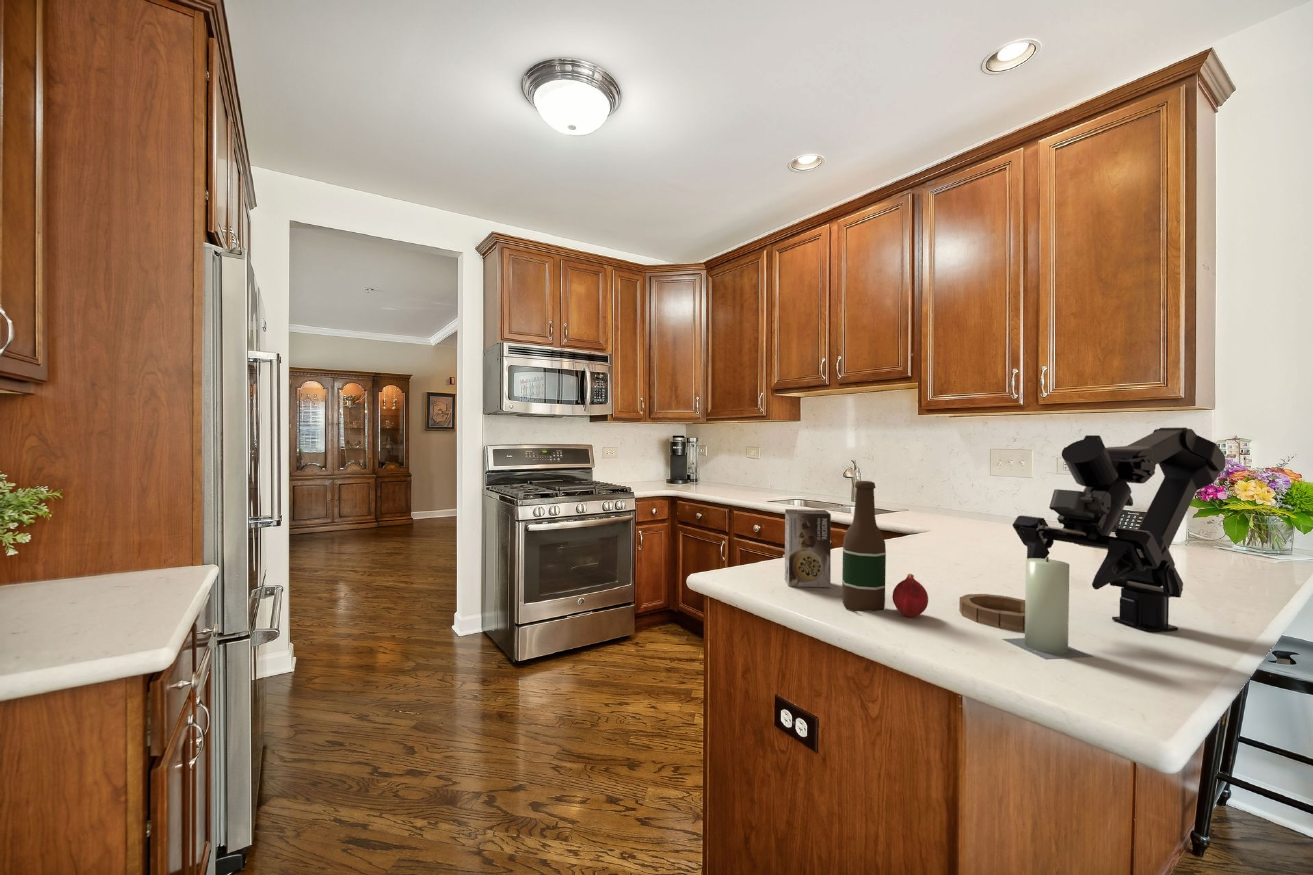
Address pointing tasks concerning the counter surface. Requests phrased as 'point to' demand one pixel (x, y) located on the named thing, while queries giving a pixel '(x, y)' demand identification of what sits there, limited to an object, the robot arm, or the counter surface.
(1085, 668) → the counter surface
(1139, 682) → the counter surface
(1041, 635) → the candle
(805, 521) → the coffee box
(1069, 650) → the mat
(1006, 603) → the bowl
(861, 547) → the beer bottle
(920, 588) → the onion
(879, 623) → the counter surface
